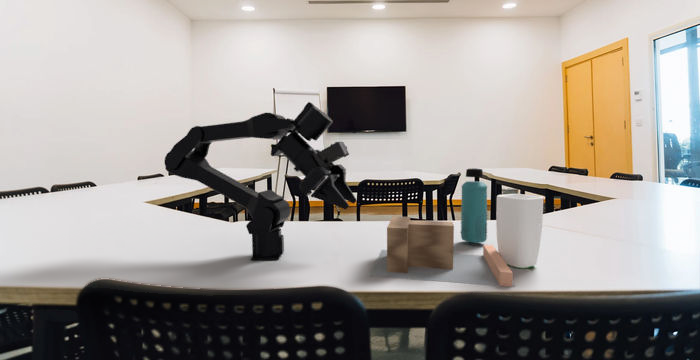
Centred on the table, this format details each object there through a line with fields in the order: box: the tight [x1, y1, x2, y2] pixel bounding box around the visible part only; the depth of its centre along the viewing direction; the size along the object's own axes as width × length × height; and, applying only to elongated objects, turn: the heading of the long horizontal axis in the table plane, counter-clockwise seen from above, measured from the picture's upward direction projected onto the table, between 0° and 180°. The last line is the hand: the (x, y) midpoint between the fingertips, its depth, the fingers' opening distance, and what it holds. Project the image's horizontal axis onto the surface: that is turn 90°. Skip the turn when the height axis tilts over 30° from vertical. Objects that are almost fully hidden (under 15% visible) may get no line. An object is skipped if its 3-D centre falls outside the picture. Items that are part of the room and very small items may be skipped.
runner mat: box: [369, 244, 516, 288], centre depth 71 cm, size 26×18×3 cm
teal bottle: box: [460, 167, 489, 244], centre depth 87 cm, size 6×7×20 cm
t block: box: [386, 216, 455, 273], centre depth 71 cm, size 13×12×9 cm
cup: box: [495, 193, 544, 269], centre depth 71 cm, size 7×7×15 cm
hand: (351, 204), depth 74 cm, fingers open, 8 cm apart
